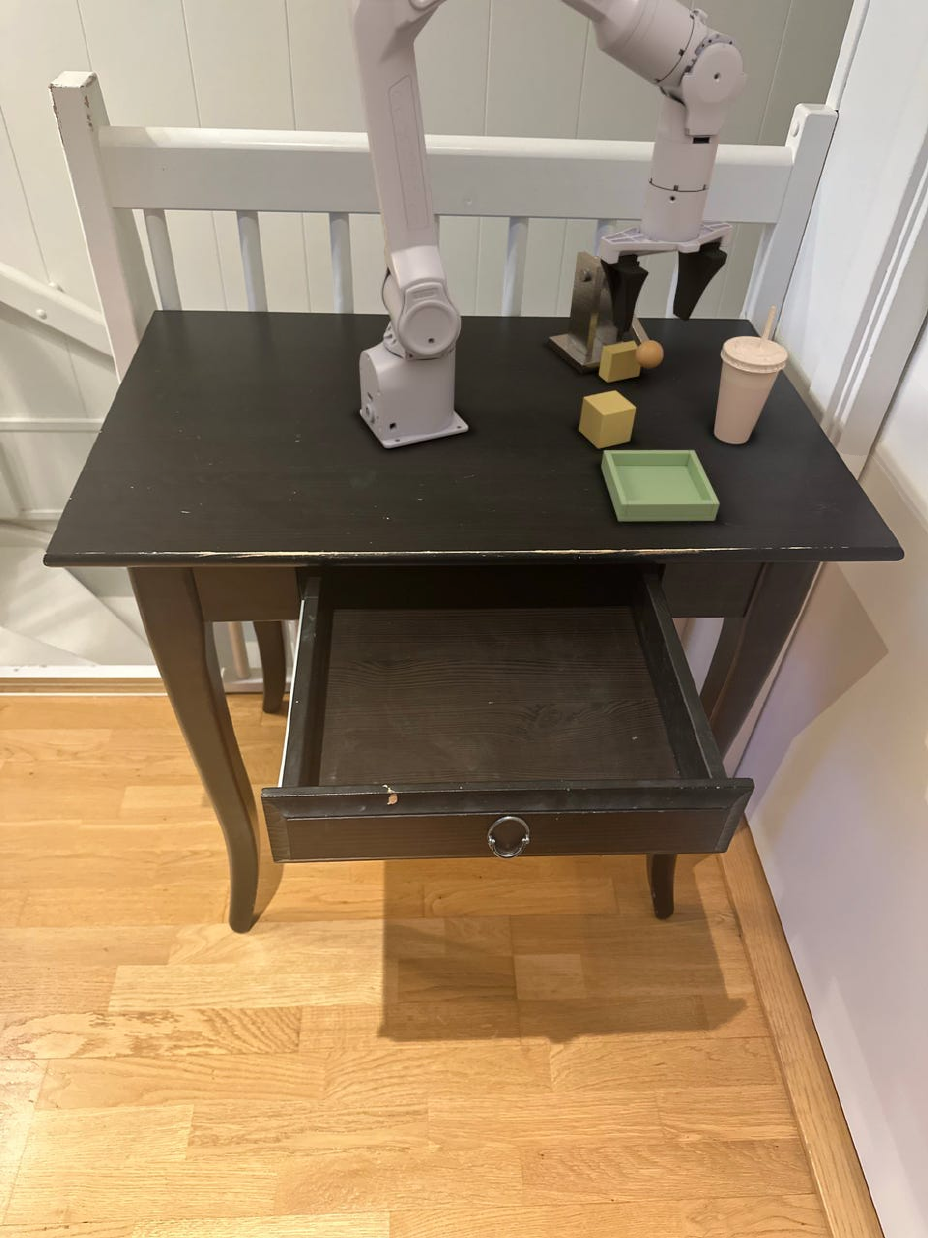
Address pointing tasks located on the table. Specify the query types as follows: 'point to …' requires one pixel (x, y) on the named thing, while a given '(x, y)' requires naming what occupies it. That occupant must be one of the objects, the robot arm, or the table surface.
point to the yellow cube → (607, 419)
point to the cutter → (587, 319)
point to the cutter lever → (641, 340)
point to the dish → (658, 485)
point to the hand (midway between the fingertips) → (651, 322)
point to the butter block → (619, 362)
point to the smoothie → (746, 382)
